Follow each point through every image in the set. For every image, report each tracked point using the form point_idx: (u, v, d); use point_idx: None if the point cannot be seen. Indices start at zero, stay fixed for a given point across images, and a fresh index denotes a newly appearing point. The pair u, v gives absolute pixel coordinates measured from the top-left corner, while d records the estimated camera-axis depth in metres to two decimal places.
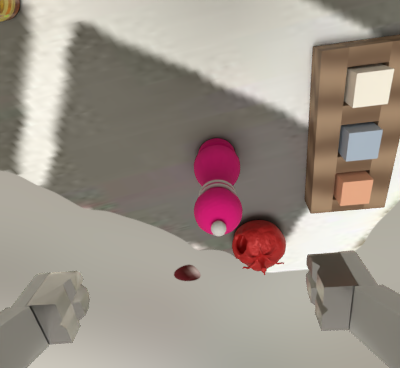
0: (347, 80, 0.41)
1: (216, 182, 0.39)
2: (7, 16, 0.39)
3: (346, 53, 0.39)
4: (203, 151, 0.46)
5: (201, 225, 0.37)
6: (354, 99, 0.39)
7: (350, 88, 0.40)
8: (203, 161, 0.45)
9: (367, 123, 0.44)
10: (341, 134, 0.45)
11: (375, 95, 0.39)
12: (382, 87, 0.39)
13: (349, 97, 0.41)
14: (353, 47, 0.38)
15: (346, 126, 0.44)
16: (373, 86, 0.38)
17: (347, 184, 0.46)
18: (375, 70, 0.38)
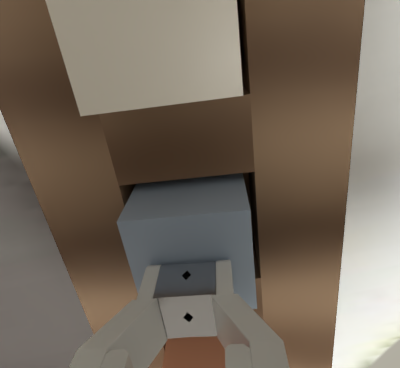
0: None
1: None
2: None
3: None
4: None
5: None
6: (72, 73, 0.08)
7: None
8: None
9: (220, 176, 0.12)
10: None
11: (170, 51, 0.07)
12: (190, 2, 0.07)
13: None
14: None
15: (145, 186, 0.12)
16: None
17: None
18: None
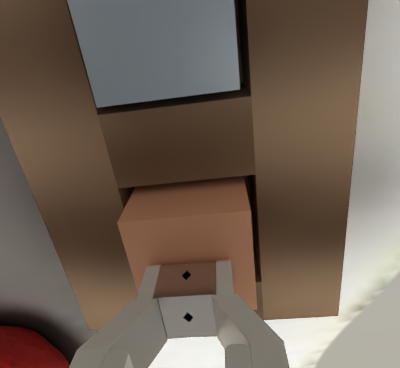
0: None
1: None
2: None
3: None
4: None
5: None
6: None
7: None
8: None
9: None
10: None
11: None
12: None
13: None
14: None
15: None
16: None
17: (139, 233, 0.10)
18: None
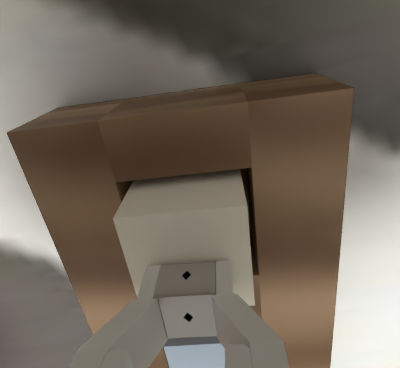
0: None
1: None
2: None
3: (95, 141, 0.11)
4: None
5: None
6: (138, 292, 0.11)
7: None
8: None
9: None
10: None
11: None
12: None
13: None
14: (112, 121, 0.11)
15: None
16: (189, 256, 0.11)
17: None
18: (184, 205, 0.10)
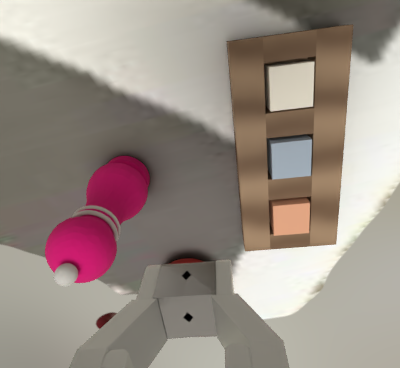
0: (265, 79, 0.33)
1: (87, 209, 0.29)
2: None
3: (260, 45, 0.30)
4: (97, 170, 0.36)
5: None
6: (271, 100, 0.32)
7: (267, 88, 0.33)
8: (92, 182, 0.35)
9: None
10: (267, 146, 0.37)
11: (296, 96, 0.31)
12: (303, 85, 0.31)
13: (268, 99, 0.33)
14: (268, 37, 0.30)
15: None
16: (292, 83, 0.31)
17: (278, 209, 0.37)
18: (292, 64, 0.30)
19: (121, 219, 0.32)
